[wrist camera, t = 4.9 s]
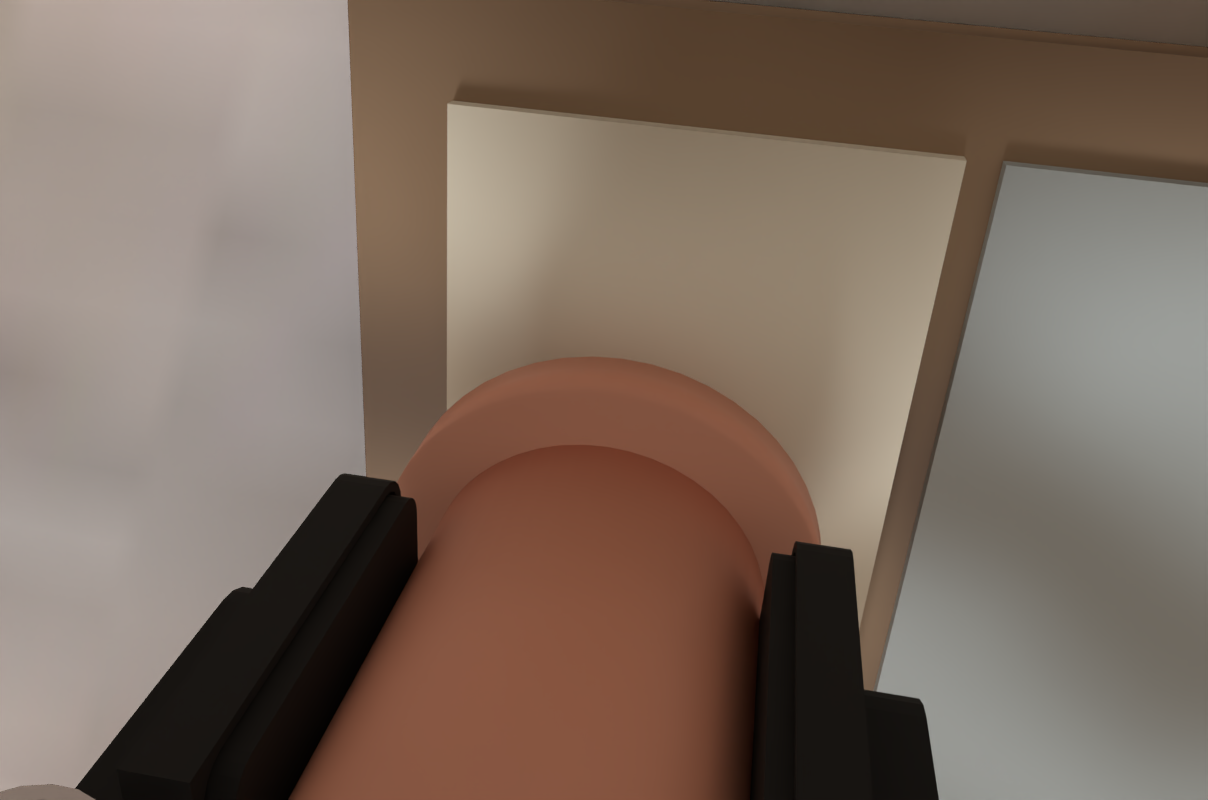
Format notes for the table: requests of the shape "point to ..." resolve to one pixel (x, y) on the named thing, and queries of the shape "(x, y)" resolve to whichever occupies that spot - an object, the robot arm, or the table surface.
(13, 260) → the table surface
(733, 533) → the pawn
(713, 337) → the board
